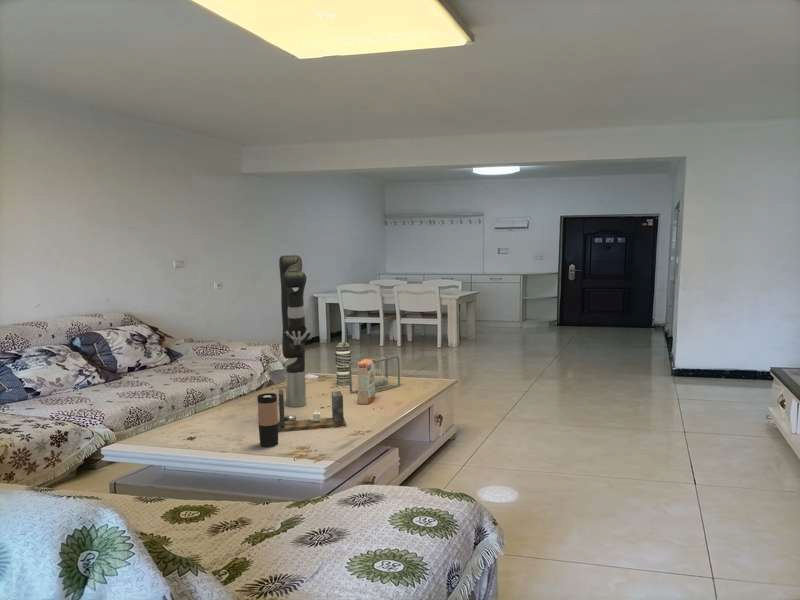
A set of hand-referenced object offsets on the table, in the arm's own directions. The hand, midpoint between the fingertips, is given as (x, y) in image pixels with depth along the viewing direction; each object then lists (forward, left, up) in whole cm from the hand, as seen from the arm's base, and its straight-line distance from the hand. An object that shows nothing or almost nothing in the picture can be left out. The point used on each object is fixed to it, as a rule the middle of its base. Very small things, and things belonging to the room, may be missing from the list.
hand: (298, 352), depth 278 cm
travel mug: (+18, -34, -31) cm, 49 cm away
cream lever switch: (+13, -2, -29) cm, 31 cm away
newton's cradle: (-9, +64, -31) cm, 71 cm away
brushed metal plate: (+7, -13, -29) cm, 33 cm away
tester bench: (+12, -7, -31) cm, 34 cm away
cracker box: (+4, +41, -31) cm, 52 cm away
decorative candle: (-31, +61, -31) cm, 76 cm away
